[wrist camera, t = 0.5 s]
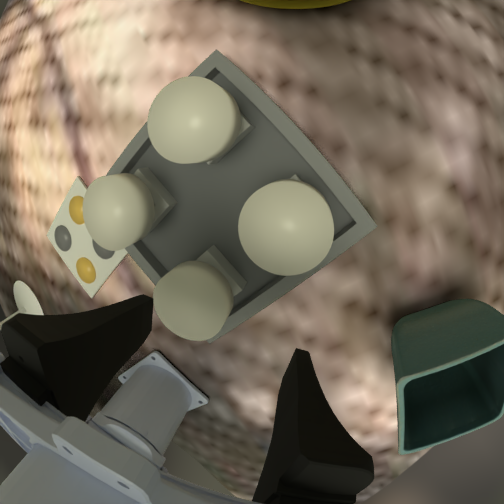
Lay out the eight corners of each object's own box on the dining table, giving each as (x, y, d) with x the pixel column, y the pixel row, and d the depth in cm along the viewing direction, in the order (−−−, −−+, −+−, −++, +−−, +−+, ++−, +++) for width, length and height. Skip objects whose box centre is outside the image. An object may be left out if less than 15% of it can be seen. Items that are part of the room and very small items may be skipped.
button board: (215, 333, 25) (208, 345, 23) (100, 198, 23) (87, 201, 21) (373, 221, 19) (378, 227, 17) (223, 56, 17) (215, 48, 15)
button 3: (207, 325, 22) (190, 351, 19) (164, 278, 22) (140, 298, 18) (253, 293, 20) (241, 318, 17) (206, 239, 20) (184, 255, 16)
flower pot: (373, 302, 21) (395, 382, 12) (469, 270, 18) (527, 328, 10) (385, 380, 23) (398, 457, 14) (468, 352, 20) (502, 418, 12)
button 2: (207, 177, 18) (184, 182, 15) (161, 127, 18) (133, 123, 15) (263, 125, 16) (250, 117, 13) (212, 74, 16) (190, 59, 13)
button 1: (286, 269, 19) (279, 292, 16) (236, 211, 19) (219, 223, 15) (346, 223, 17) (353, 238, 14) (295, 160, 17) (290, 161, 14)
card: (93, 297, 27) (90, 299, 27) (48, 234, 26) (45, 236, 26) (132, 247, 24) (129, 248, 23) (79, 176, 23) (75, 176, 22)
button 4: (139, 249, 21) (112, 265, 18) (103, 202, 21) (73, 211, 18) (178, 206, 19) (152, 217, 16) (136, 157, 19) (106, 160, 16)
